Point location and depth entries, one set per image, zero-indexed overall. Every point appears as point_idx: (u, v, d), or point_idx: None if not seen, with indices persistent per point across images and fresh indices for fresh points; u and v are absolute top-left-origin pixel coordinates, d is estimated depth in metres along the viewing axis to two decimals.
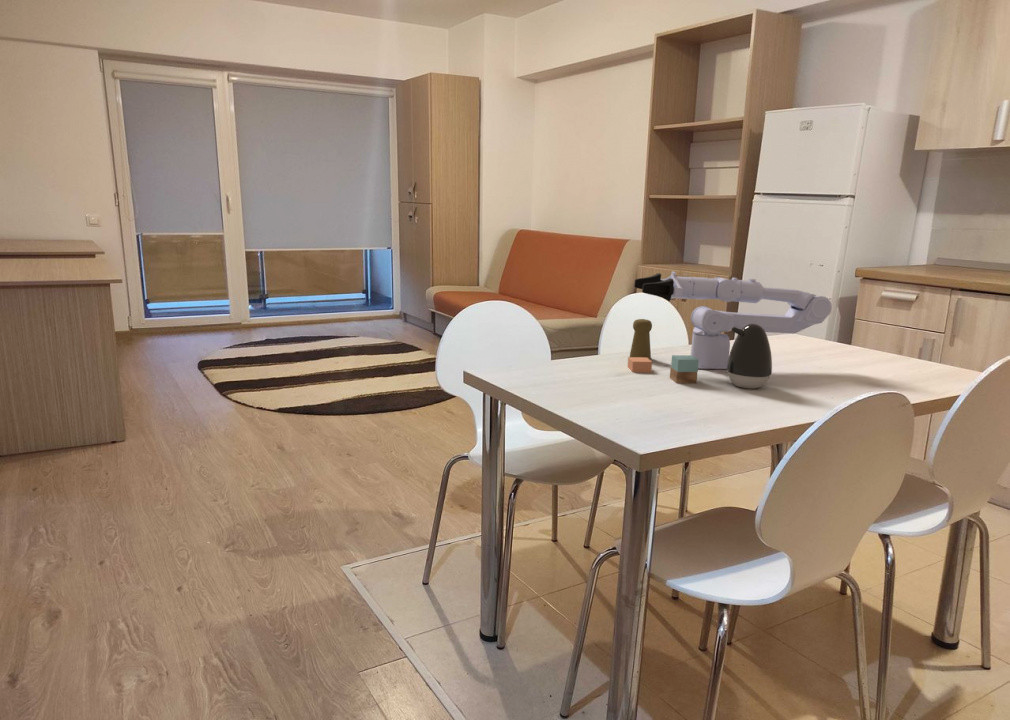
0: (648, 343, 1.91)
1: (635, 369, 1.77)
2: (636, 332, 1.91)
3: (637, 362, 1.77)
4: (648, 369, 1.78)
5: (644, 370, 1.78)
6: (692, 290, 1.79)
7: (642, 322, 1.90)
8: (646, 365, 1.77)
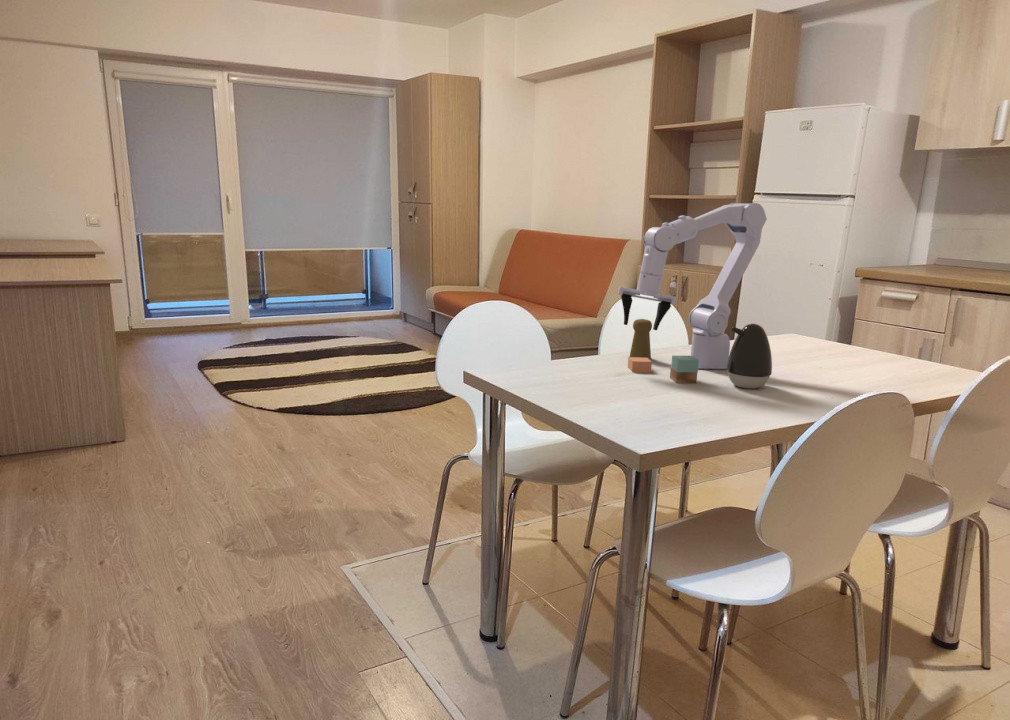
0: (648, 343, 1.91)
1: (635, 369, 1.77)
2: (636, 332, 1.91)
3: (637, 362, 1.77)
4: (648, 369, 1.78)
5: (644, 370, 1.78)
6: (661, 277, 1.76)
7: (642, 322, 1.90)
8: (646, 365, 1.77)
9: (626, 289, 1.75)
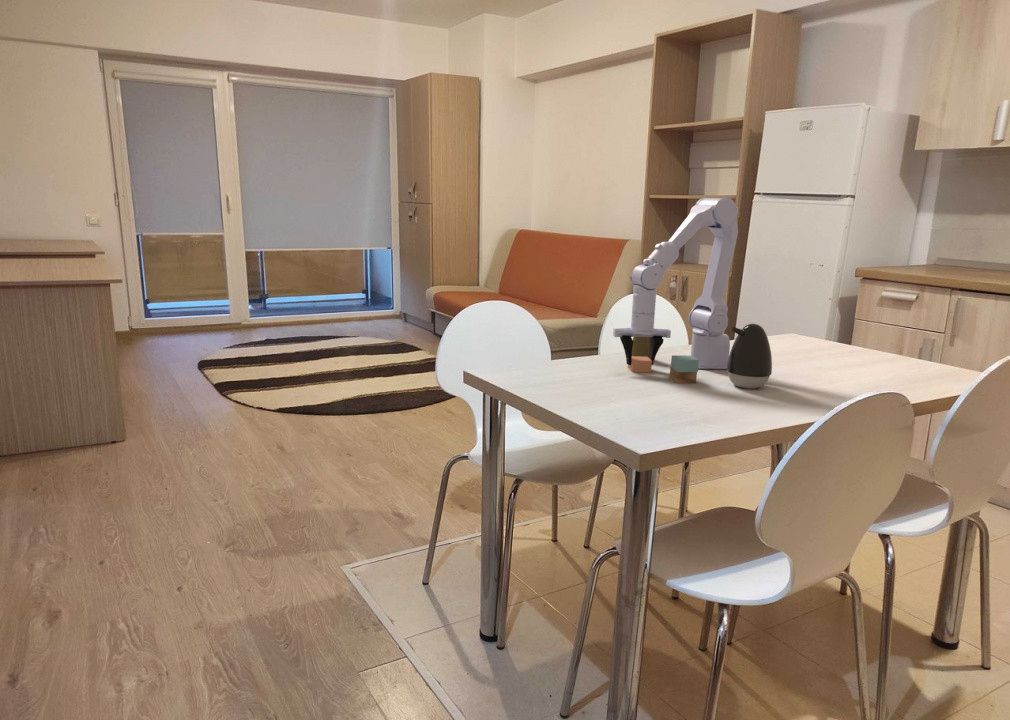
0: (648, 343, 1.91)
1: (635, 368, 1.77)
2: None
3: (637, 361, 1.77)
4: (648, 368, 1.77)
5: (644, 369, 1.78)
6: None
7: None
8: (646, 364, 1.77)
9: (621, 331, 1.76)
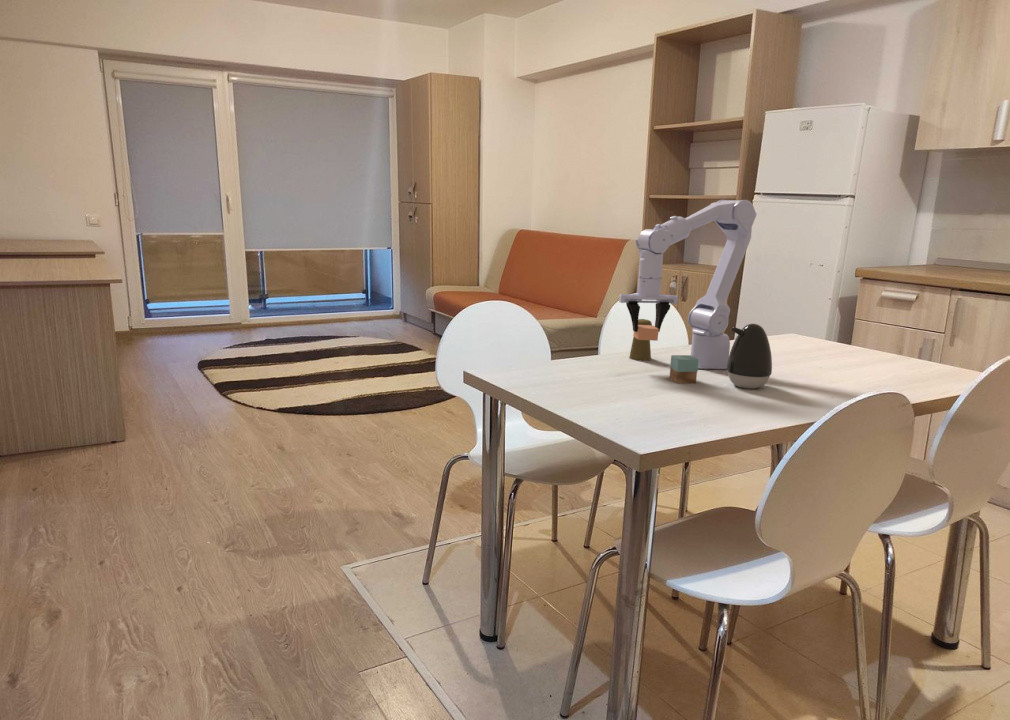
0: (648, 343, 1.91)
1: (642, 335, 1.75)
2: None
3: (643, 329, 1.74)
4: (655, 336, 1.75)
5: (650, 337, 1.75)
6: None
7: (642, 322, 1.90)
8: (653, 332, 1.75)
9: (628, 296, 1.73)
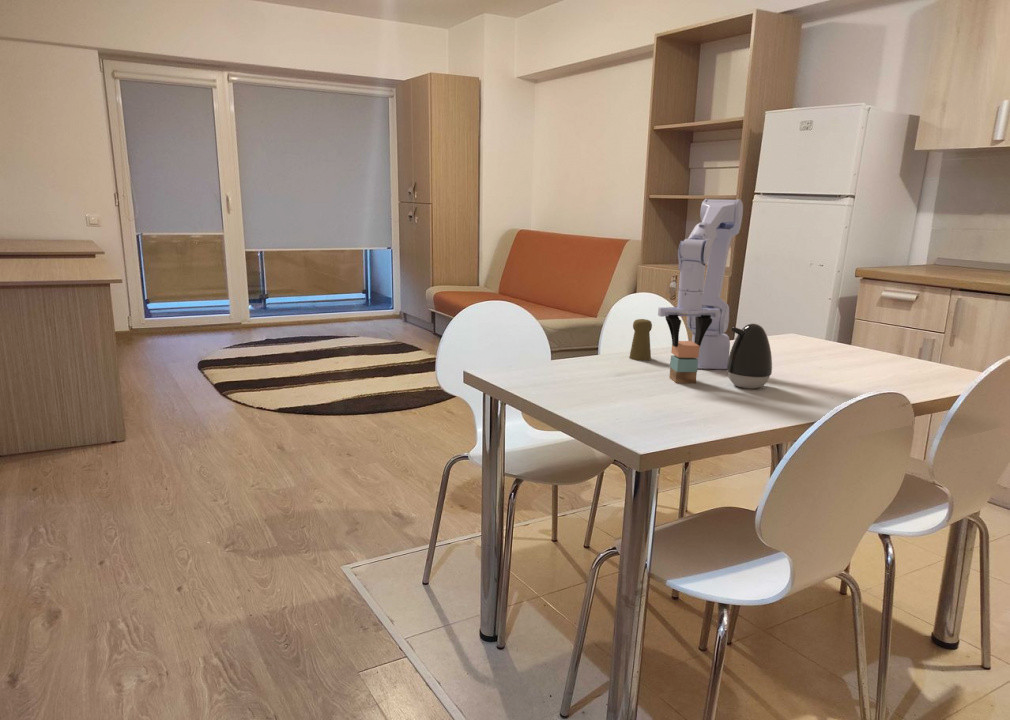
0: (648, 343, 1.91)
1: (682, 353, 1.66)
2: (636, 332, 1.91)
3: (684, 346, 1.66)
4: (695, 353, 1.67)
5: (691, 354, 1.67)
6: None
7: (642, 322, 1.90)
8: (693, 349, 1.66)
9: (668, 310, 1.65)
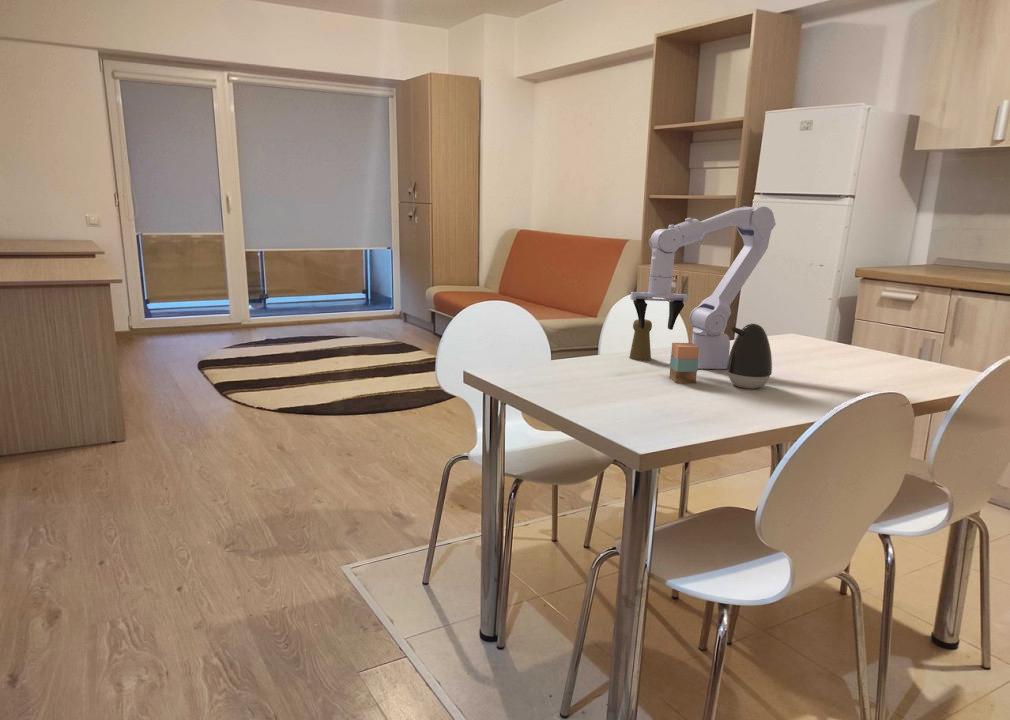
0: (648, 343, 1.91)
1: (681, 355, 1.66)
2: (636, 332, 1.91)
3: (683, 347, 1.66)
4: (695, 354, 1.67)
5: (690, 356, 1.67)
6: None
7: None
8: (693, 350, 1.66)
9: (639, 294, 1.77)
